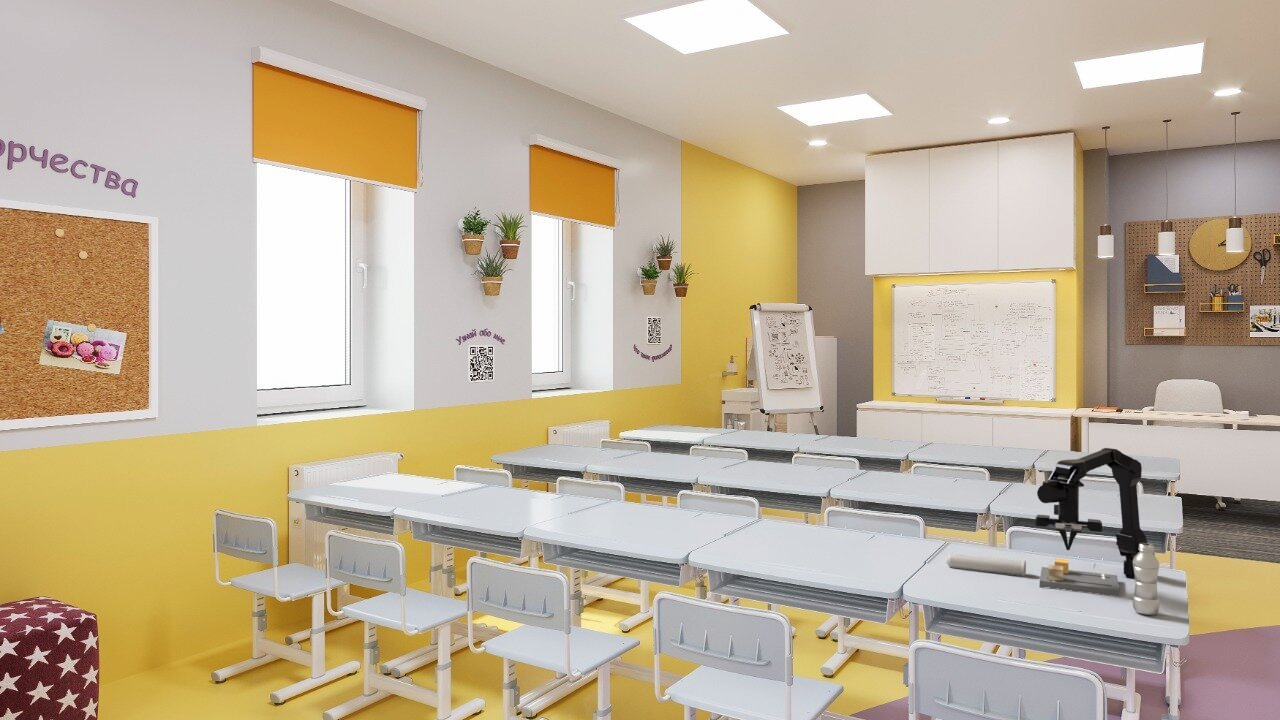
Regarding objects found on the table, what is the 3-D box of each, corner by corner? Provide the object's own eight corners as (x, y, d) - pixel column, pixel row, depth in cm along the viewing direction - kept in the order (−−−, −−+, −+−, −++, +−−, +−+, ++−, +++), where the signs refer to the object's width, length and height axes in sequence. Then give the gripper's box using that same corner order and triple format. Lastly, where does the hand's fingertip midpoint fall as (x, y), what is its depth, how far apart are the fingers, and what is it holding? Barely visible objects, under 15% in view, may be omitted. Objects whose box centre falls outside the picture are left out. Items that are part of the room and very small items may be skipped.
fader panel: (1116, 581, 271) (1116, 574, 271) (1119, 596, 255) (1119, 589, 255) (1041, 572, 281) (1041, 566, 281) (1039, 586, 265) (1039, 580, 265)
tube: (944, 557, 287) (1024, 566, 275) (947, 549, 292) (1025, 557, 279) (945, 570, 289) (1024, 580, 276) (948, 562, 293) (1026, 571, 281)
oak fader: (1063, 577, 268) (1063, 566, 268) (1062, 581, 263) (1062, 570, 263) (1049, 575, 270) (1049, 564, 270) (1048, 579, 265) (1048, 568, 265)
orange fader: (1068, 570, 276) (1068, 559, 276) (1068, 573, 272) (1068, 563, 272) (1054, 568, 278) (1055, 558, 278) (1054, 572, 274) (1054, 561, 273)
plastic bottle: (1150, 619, 234) (1151, 548, 234) (1127, 612, 240) (1127, 543, 240) (1164, 615, 237) (1165, 545, 237) (1140, 608, 243) (1141, 540, 243)
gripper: (1101, 499, 267) (1101, 547, 268) (1037, 494, 276) (1036, 541, 276) (1102, 505, 257) (1101, 555, 258) (1035, 500, 266) (1035, 548, 266)
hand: (1068, 550), depth 265 cm, fingers closed
